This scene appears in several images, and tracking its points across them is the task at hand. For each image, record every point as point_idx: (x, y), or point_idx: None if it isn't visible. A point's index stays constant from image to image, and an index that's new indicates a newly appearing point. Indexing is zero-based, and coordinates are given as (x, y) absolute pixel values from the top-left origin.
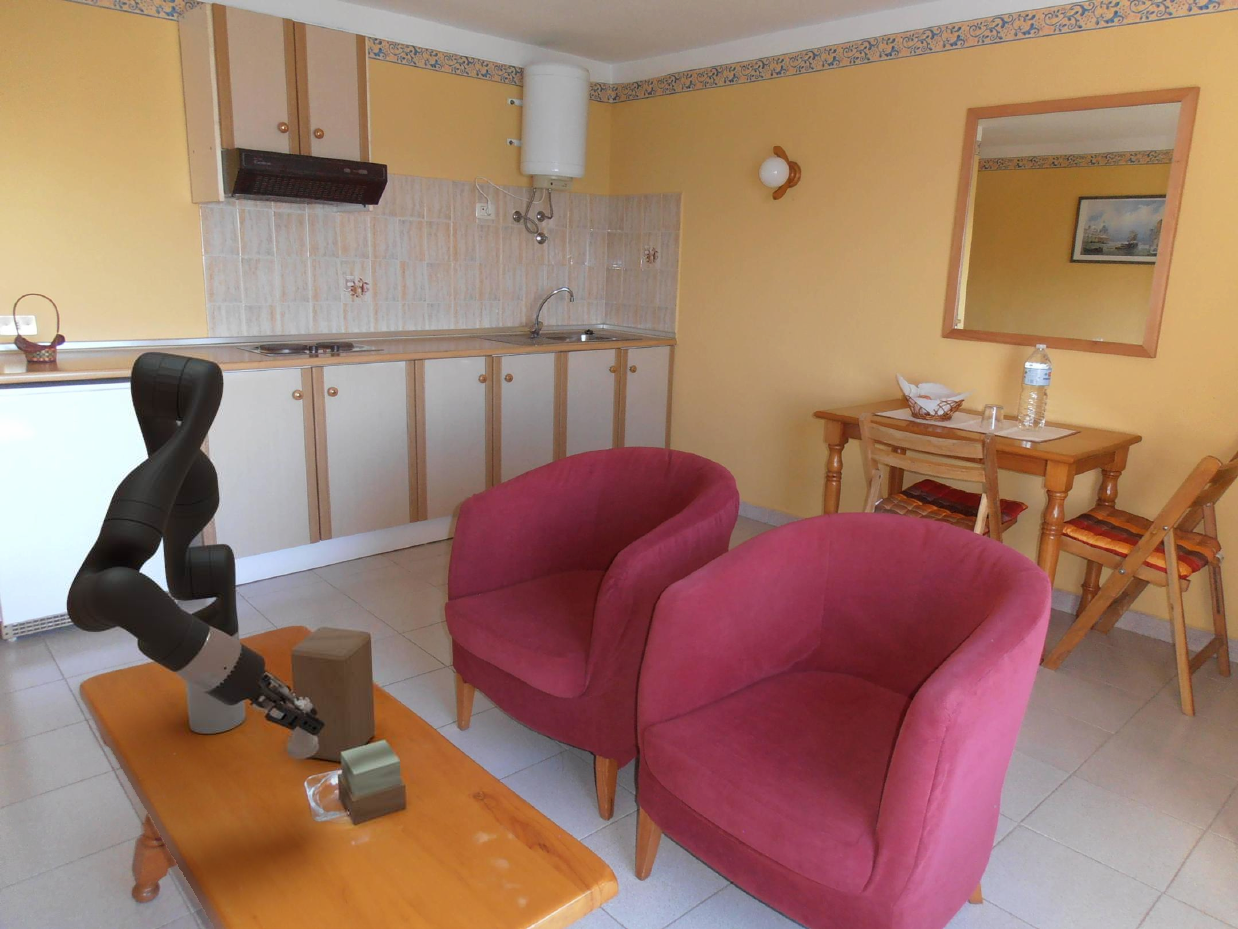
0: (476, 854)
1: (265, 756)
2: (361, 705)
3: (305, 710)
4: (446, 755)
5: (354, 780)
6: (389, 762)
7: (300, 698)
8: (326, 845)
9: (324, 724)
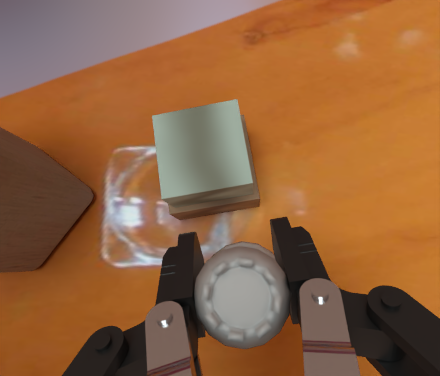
0: (382, 62)
1: (11, 322)
2: (10, 141)
3: (290, 280)
4: (138, 61)
5: (251, 186)
6: (234, 117)
7: (210, 294)
8: None
9: (285, 217)
